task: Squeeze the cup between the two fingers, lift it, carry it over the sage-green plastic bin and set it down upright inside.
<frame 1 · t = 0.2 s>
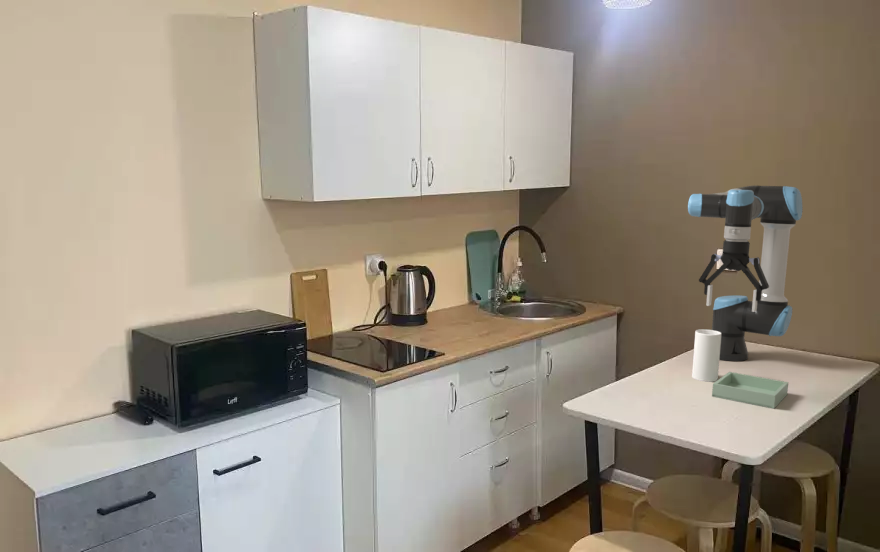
hand: (731, 308, 225), 27 cm above the table, fingers open, 13 cm apart
bin: (749, 395, 227), on the table
cup: (704, 378, 245), on the table
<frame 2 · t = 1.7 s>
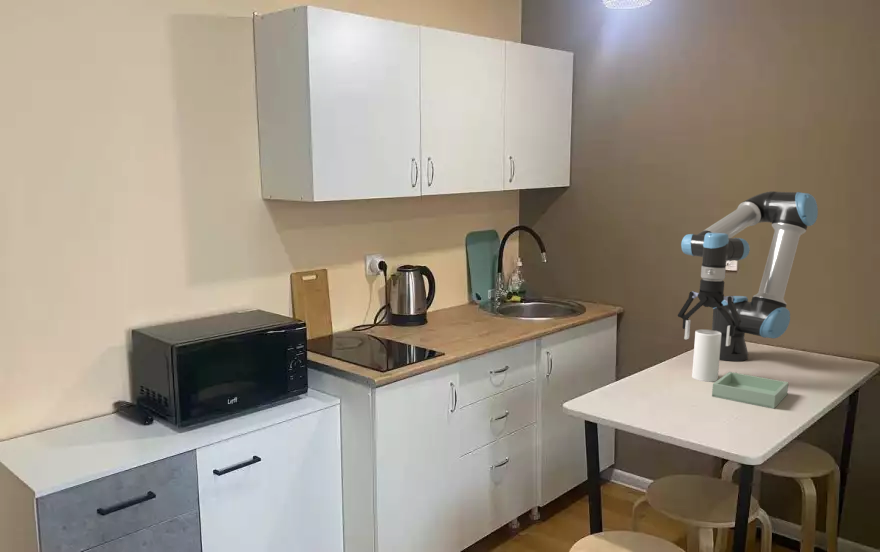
hand: (706, 342, 243), 13 cm above the table, fingers open, 13 cm apart
nothing on the table moved.
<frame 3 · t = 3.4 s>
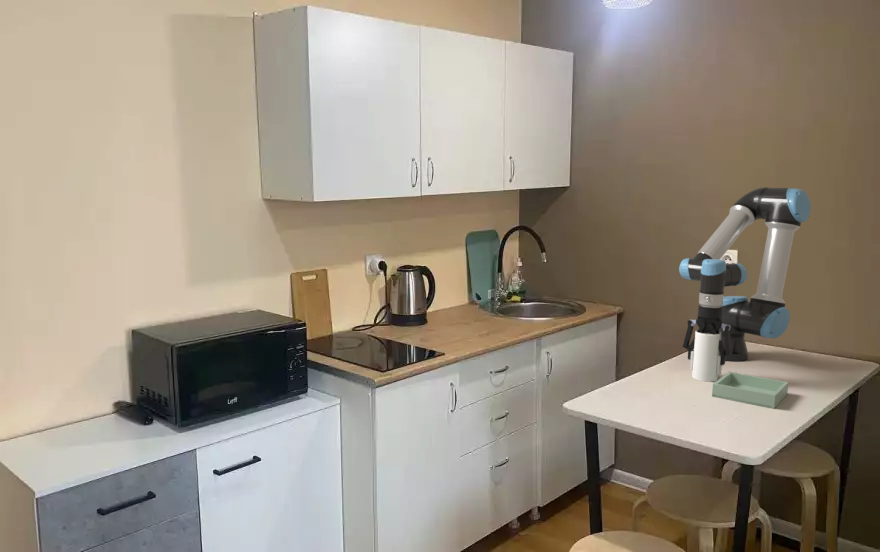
hand: (705, 371, 244), 2 cm above the table, fingers closed on cup, 8 cm apart
cup: (704, 378, 245), on the table, touching gripper
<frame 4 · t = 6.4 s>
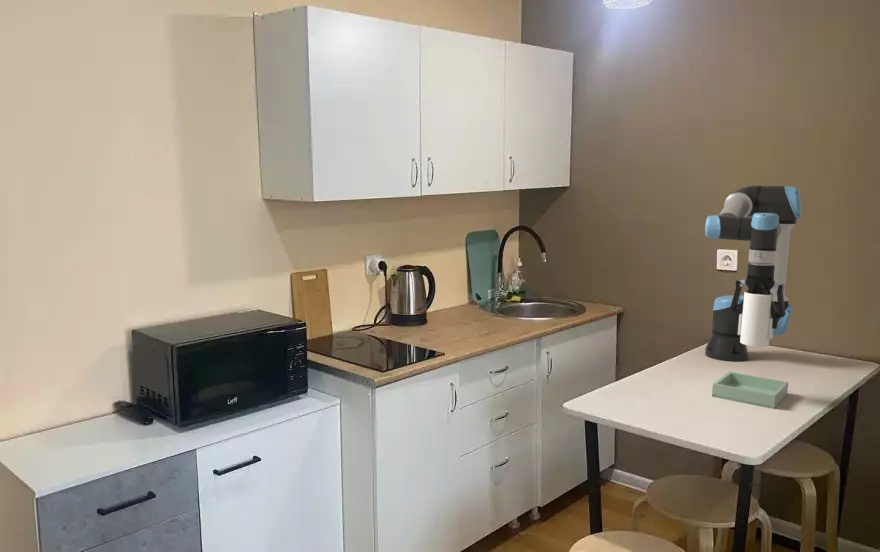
hand: (755, 336, 224), 19 cm above the table, fingers closed on cup, 8 cm apart
cup: (754, 344, 224), point 16 cm above the table, touching gripper
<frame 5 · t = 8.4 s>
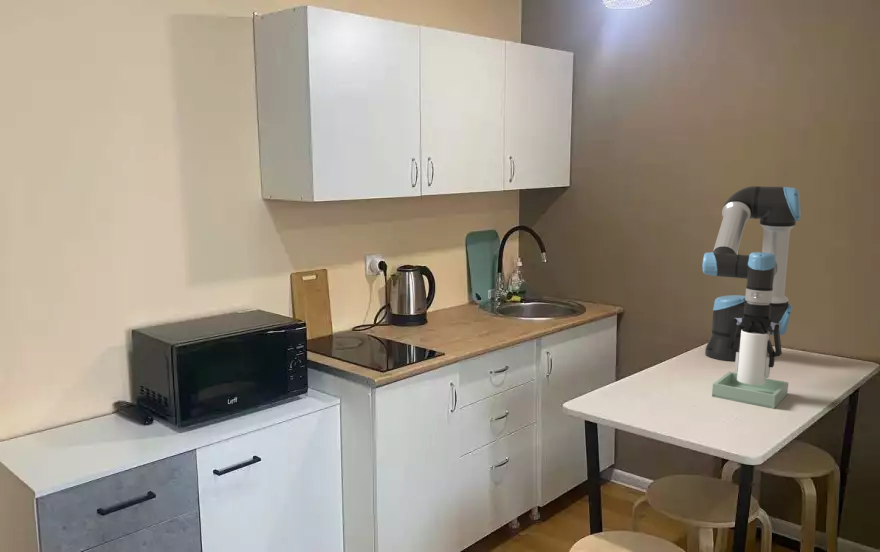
hand: (751, 374, 226), 7 cm above the table, fingers closed on cup, 8 cm apart
cup: (751, 382, 226), point 4 cm above the table, touching gripper
when the fingers open (5 cm above the table, at t = 9.7 s): cup drops 2 cm, resting on bin.
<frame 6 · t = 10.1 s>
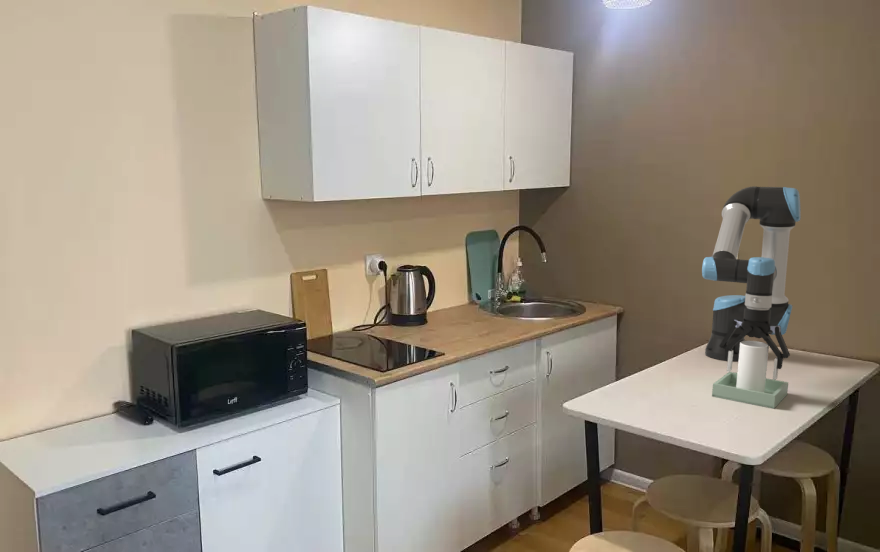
hand: (751, 374, 226), 7 cm above the table, fingers open, 13 cm apart
cup: (749, 394, 227), resting on bin
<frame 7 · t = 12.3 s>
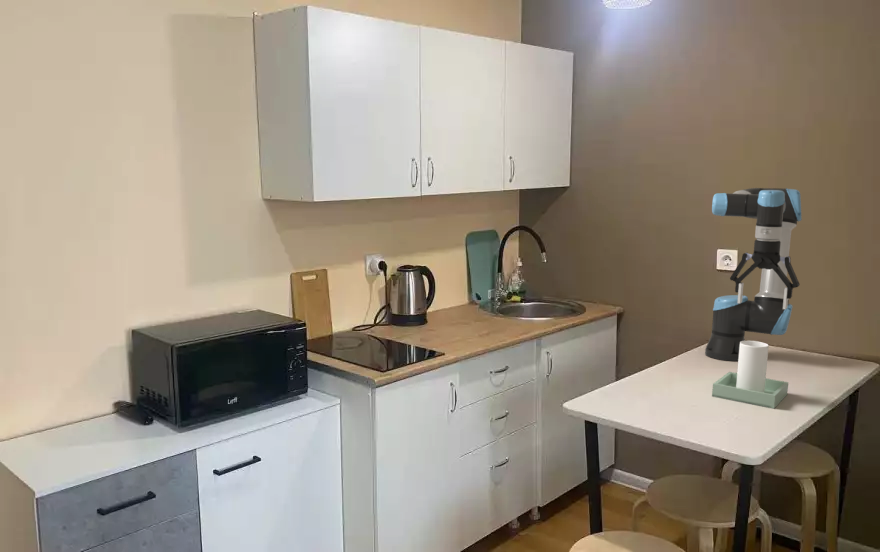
hand: (761, 305, 231), 27 cm above the table, fingers open, 13 cm apart
nothing on the table moved.
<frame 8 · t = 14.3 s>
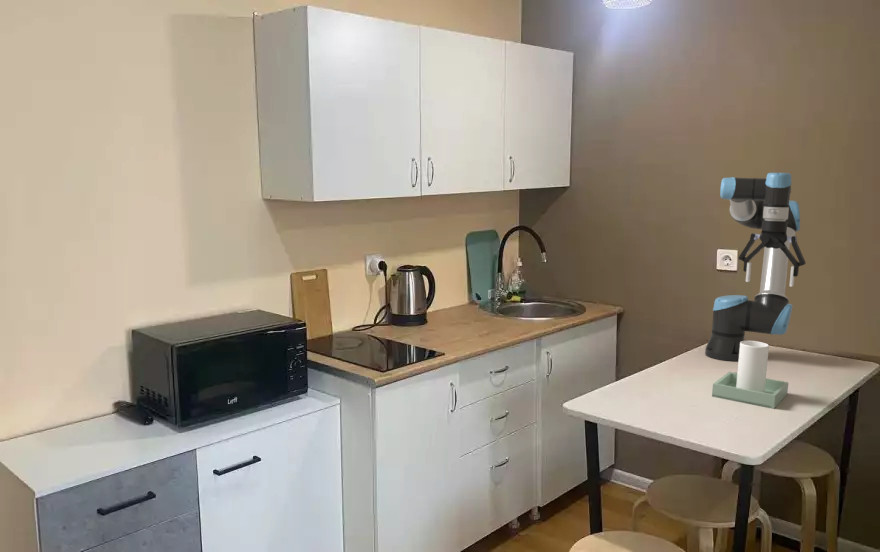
hand: (769, 283, 240), 33 cm above the table, fingers open, 13 cm apart
nothing on the table moved.
at the end: cup inside the target area on the bin (0.1 cm from its centre), point 0.4 cm above the bin's base; cup tilted 0°; the gripper is holding nothing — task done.
